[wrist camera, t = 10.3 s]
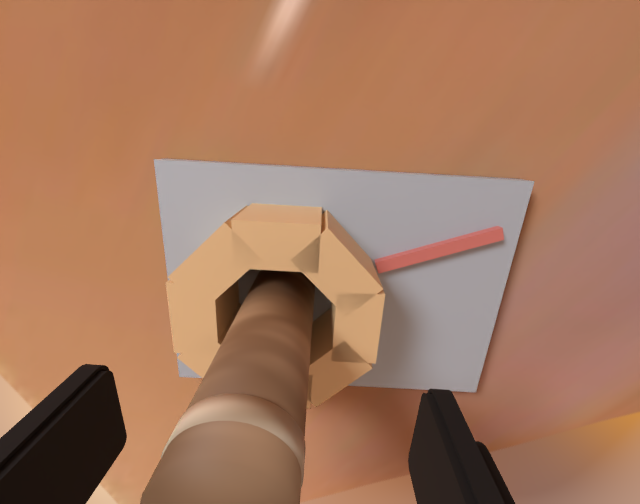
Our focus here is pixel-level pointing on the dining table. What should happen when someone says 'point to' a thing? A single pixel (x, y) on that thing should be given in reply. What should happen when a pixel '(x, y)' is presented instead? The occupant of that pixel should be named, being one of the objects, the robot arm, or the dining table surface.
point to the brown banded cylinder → (247, 407)
